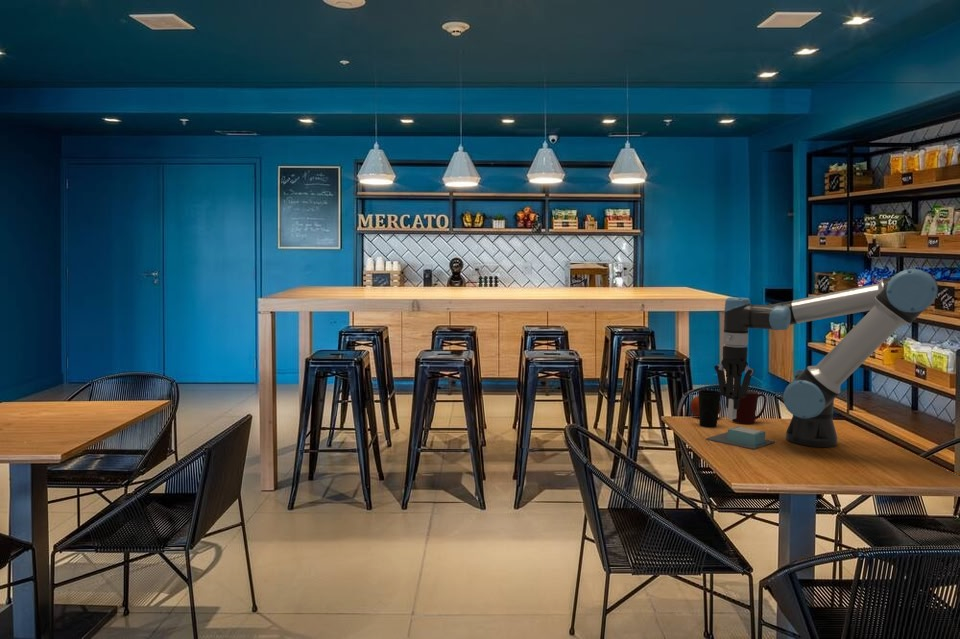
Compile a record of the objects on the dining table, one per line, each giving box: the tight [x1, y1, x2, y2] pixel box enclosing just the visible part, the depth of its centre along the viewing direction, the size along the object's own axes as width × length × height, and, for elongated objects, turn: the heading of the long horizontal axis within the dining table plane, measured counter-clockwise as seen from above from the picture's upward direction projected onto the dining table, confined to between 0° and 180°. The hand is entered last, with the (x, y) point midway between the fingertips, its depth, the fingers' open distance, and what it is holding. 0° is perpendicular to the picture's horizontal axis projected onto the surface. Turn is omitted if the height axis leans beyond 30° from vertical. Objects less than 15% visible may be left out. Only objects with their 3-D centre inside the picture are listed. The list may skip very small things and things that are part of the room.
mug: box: [731, 389, 767, 425], centre depth 262 cm, size 12×9×11 cm
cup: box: [697, 389, 722, 429], centre depth 255 cm, size 8×8×12 cm
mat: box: [705, 431, 775, 451], centre depth 234 cm, size 14×16×1 cm
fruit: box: [690, 395, 722, 417], centre depth 269 cm, size 11×10×8 cm
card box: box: [727, 426, 766, 446], centre depth 232 cm, size 4×7×9 cm
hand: (732, 418), depth 236 cm, fingers closed
